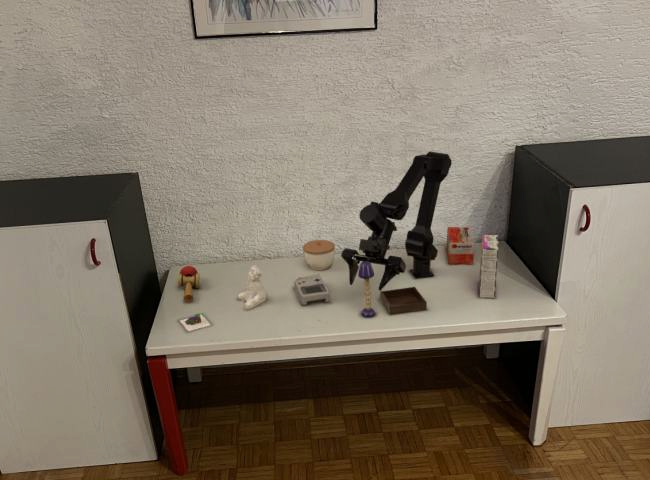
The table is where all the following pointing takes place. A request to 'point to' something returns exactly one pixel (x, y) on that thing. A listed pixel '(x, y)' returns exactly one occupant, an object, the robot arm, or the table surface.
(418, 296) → the tray
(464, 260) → the medicine box
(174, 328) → the table surface
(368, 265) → the toy lamp
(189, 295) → the kendama
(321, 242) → the trinket box
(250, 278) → the white creature statuette
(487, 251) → the candy bar box
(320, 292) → the handheld gaming device
